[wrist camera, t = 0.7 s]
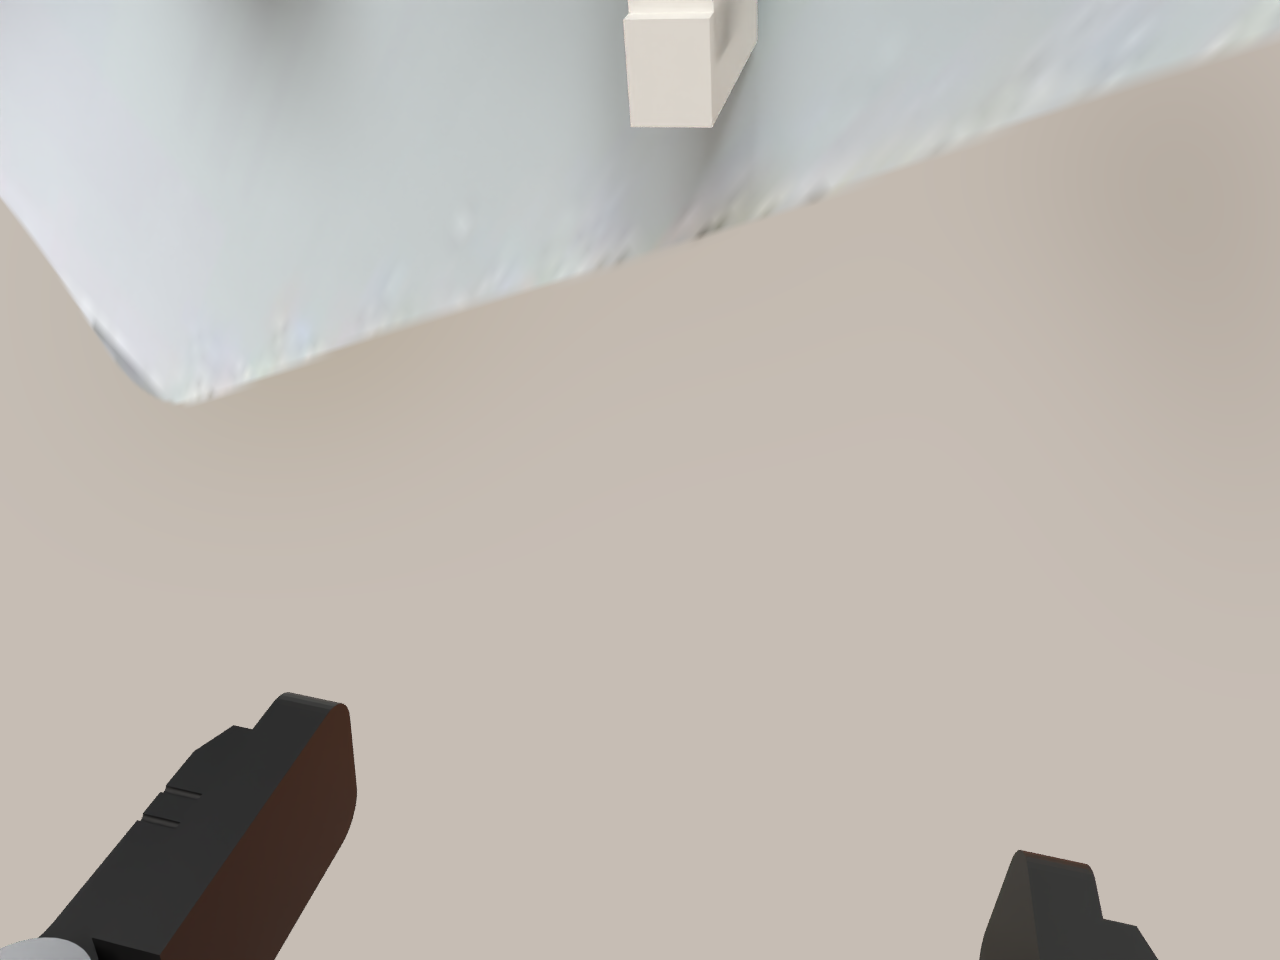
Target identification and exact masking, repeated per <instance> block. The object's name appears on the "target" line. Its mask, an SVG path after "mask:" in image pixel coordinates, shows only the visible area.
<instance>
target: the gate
mask: <svg viewBox="0 0 1280 960" xmlns="http://www.w3.org/2000/svg"><path fill="white" fill-rule="evenodd" d="M628 10H629V14H628V15H627V16H626V17H625V18H624V19H623V26H624V40H625V54H626V68H627V82H628V95H629V109H630V123H631V127H686V128H712V127H713V125H714V123H715V121H716V119H717V118H718V116H719V114H720V112H721V110H722V108H723V106H724V104H725V102H726V100H727V98H728V97H729V95H730V93H731V91H732V89H733V87H734V85H735V83H736V81H737V79H738V77H739V76H740V74H741V72H742V70H743V68H744V66H745V64H746V62H747V60H748V58H749V56H750V54H751V53H752V51H753V49H754V47H755V45H756V43H757V41H758V0H628Z"/></svg>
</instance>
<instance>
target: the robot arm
mask: <svg viewBox="0 0 1280 960" xmlns="http://www.w3.org/2000/svg"><path fill="white" fill-rule="evenodd" d="M356 798H357V786H356V775H355V765H354V754H353V745H352V733H351V723H350V716H349V710H348V708H347V706H346V705H344V704H342V703H337V702H332V701H327V700H323V699H318V698H314V697H308V696H304V695H300V694H294V693H290V692H287V693H283V694H282V695H280V696H279V697H278V698H277V699H276V700H275V701H274V702H273V704H272V705H271V706H270V707H269V709H268V710H267V711H266V712H265V714H264V715H263V716H262V718H261V719H260V720H259V722H258V723H257V724H256V725H255V727H254V728H253V729H248V728H243V727H239V726H234V725H233V726H232V727H231V728H229V729H227V730H226V731H224V732H223V733H221V734H220V735H218V736H217V737H215V738H214V739H212V740H211V741H209V742H208V743H206V744H204V745H203V746H201V747H200V748H199V749H197V750H195V751H194V752H193V753H192V755H191V756H190V757H189V758H188V759H187V760H186V762H185V763H184V764H183V765H182V767H181V768H180V769H179V770H178V772H177V773H176V774H175V775H174V776H173V778H172V779H171V780H170V781H169V782H168V784H167V785H166V789H165V791H164V792H163V793H162V792H160V793H159V794H158V796H157V797H156V798H155V799H154V801H153V802H152V803H151V804H150V805H149V807H148V808H147V809H146V810H145V812H144V813H143V817H142V819H141V821H138V820H137V821H136V822H135V824H134V825H133V826H132V827H131V829H130V830H129V831H128V832H127V833H126V835H125V836H124V837H123V838H122V840H121V841H120V842H119V843H118V844H117V846H116V847H115V848H114V849H113V850H112V852H111V853H110V854H109V855H108V857H107V858H106V859H105V860H104V861H103V863H102V864H101V865H100V866H99V868H98V869H97V870H96V871H95V872H94V874H93V875H92V876H91V877H90V878H89V880H88V881H87V882H86V883H85V885H84V886H83V887H82V888H81V889H80V891H79V892H78V893H77V894H76V896H75V897H74V898H73V899H72V900H71V902H70V903H69V904H68V905H67V906H66V908H65V909H64V910H63V912H62V913H61V914H60V915H59V916H58V917H57V919H56V920H55V921H54V922H53V923H52V924H51V926H50V927H49V928H48V929H47V930H46V931H45V932H44V933H43V934H42V935H41V936H40V937H39V938H34V939H28V940H24V941H20V942H16V943H14V944H11V945H8V946H5V947H3V948H1V949H0V960H274V959H275V958H276V956H277V954H278V952H279V951H280V949H281V947H282V946H283V944H284V942H285V940H286V939H287V937H288V935H289V934H290V932H291V930H292V928H293V927H294V925H295V923H296V922H297V920H298V918H299V917H300V915H301V913H302V911H303V910H304V908H305V906H306V905H307V903H308V901H309V900H310V898H311V896H312V894H313V893H314V891H315V889H316V888H317V886H318V884H319V882H320V881H321V879H322V877H323V876H324V874H325V872H326V871H327V869H328V867H329V865H330V864H331V862H332V860H333V859H334V857H335V855H336V853H337V852H338V850H339V848H340V847H341V845H342V843H343V841H344V839H345V837H346V835H347V833H348V830H349V828H350V825H351V822H352V819H353V815H354V811H355V806H356ZM979 960H1158V959H1157V957H1156V956H1155V954H1154V953H1153V951H1152V950H1151V948H1150V946H1149V945H1148V943H1147V942H1146V940H1145V939H1144V937H1143V936H1142V934H1141V933H1140V931H1139V930H1138V928H1137V926H1133V925H1129V924H1124V923H1120V922H1115V921H1111V920H1106V919H1103V916H1102V911H1101V906H1100V902H1099V896H1098V892H1097V886H1096V881H1095V877H1094V874H1093V871H1092V870H1091V868H1090V866H1089V865H1087V864H1083V863H1079V862H1074V861H1069V860H1065V859H1060V858H1055V857H1050V856H1046V855H1041V854H1036V853H1032V852H1027V851H1022V850H1018V851H1017V852H1016V853H1015V855H1014V856H1013V858H1012V861H1011V863H1010V866H1009V869H1008V871H1007V874H1006V877H1005V880H1004V882H1003V885H1002V888H1001V891H1000V893H999V896H998V899H997V901H996V904H995V907H994V909H993V912H992V915H991V918H990V920H989V923H988V926H987V928H986V931H985V934H984V938H983V942H982V946H981V952H980V959H979Z"/></svg>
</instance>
